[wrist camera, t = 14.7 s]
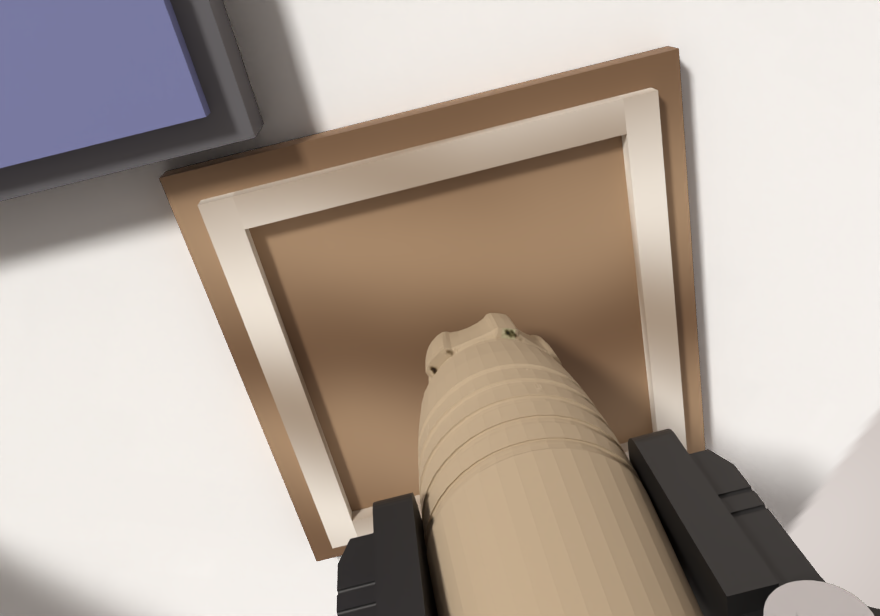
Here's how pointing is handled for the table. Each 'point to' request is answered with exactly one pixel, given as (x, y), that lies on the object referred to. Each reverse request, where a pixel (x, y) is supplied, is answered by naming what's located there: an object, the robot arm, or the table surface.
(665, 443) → the robot arm
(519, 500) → the handle
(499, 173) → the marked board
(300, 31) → the table surface
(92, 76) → the ink pad
